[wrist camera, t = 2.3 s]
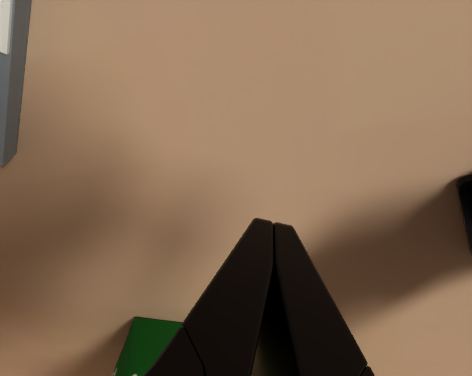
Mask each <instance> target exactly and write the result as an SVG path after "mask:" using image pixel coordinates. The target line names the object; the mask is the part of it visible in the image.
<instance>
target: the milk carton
mask: <svg viewBox="0 0 472 376" xmlns="http://www.w3.org/2000/svg"><path fill="white" fill-rule="evenodd" d="M181 325H182V323H180V322H172V321H163V320H155V319H147V318H139V317H135V318H134V321H133V323H132V326H131V329H130V331H129V334H128V336H127V339H126V341H125V344H124V346H123V349H122V351H121V354H120V356H119V359H118V361H117V364H116V367H115V369H114V372H113V374H112V376H143V375H144V374H145V373H146V372H147V371H148V369H149V368H150V367H151V366H152V365H153V363H154V362H155V361H156V359H157V358H158V357H159V355H160V354H161V353H162V351H163V350H164V348H165V347H166V346H167V344H168V343H169V342H170V340H171V339H172V337H173V336H174V334H175V333H176V331H177V330H178V329H179V327H181Z"/></svg>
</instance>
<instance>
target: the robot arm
mask: <svg viewBox="0 0 472 376" xmlns="http://www.w3.org/2000/svg"><path fill="white" fill-rule="evenodd" d="M466 185H470V186H469V187H465V186H466ZM464 187H465V188H464ZM456 188H457V192H458V197H459V202H460V206H461V211H462V216H463V220H464V225H465V230H466V234H467V239H468V244H469V249H470V253H471V255H472V175H470V176H466V177H463V178H461V179H460V180H459V181H458V182H457V184H456ZM366 366H367V361H366V359H365V357H364V356H363V354H362V352H361V350H360V348H359V346H358V345H357V343H356V341H355V339H354V337H353V335H352V334H351V332H350V330H349V328H348V326H347V324H346V323H345V321H344V319H343V317H342V315H341V313H340V312H339V310H338V308H337V306H336V304H335V302H334V301H333V299H332V297H331V295H330V293H329V292H328V290H327V288H326V286H325V284H324V282H323V281H322V279H321V277H320V275H319V273H318V271H317V270H316V268H315V266H314V264H313V262H312V260H311V259H310V257H309V255H308V253H307V251H306V249H305V248H304V246H303V244H302V242H301V240H300V238H299V237H298V235H297V233H296V231H295V229H294V228H293V227H292V226H291V225H287V224H282V223H278V222H276V223H274V224H273V223H272V222H271V221H269V220H264V219H260V218H255V219H253V221H252V222H251V223H250V225H249V226H248V228H247V229H246V231H245V232H244V234H243V235H242V237H241V238H240V240H239V241H238V243H237V244H236V245H235V247H234V248H233V250H232V251H231V253H230V254H229V256H228V257H227V259H226V260H225V262H224V263H223V265H222V266H221V267H220V269H219V270H218V272H217V273H216V275H215V276H214V278H213V279H212V281H211V282H210V284H209V285H208V286H207V288H206V289H205V291H204V292H203V294H202V295H201V297H200V298H199V300H198V301H197V303H196V304H195V306H194V307H193V308H192V310H191V311H190V313H189V314H188V316H187V317H186V319H185V320H184V322H183V323H182V325H181V327H179V329H178V330H177V331H176V333H175V334H174V336H173V337H172V339H171V340H170V342H169V343H168V344H167V346H166V347H165V348H164V350H163V351H162V353H161V354H160V355H159V357H158V358H157V359H156V361H155V362H154V363H153V365H152V366H151V367H150V368H149V369H148V371H147V372H146V373H145V374H144V375H143V376H251V374H252V376H375V375H374V373H373V372H372V370H371V368H370V367H369V366H367V367H366Z"/></svg>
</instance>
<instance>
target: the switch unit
mask: <svg viewBox="0 0 472 376" xmlns="http://www.w3.org/2000/svg"><path fill="white" fill-rule="evenodd" d="M31 1H32V0H0V166H1V167H3V166H4V165H5V164H6V163H7V162H8V161H9V160H10V159H11V158H12V157H13V156H14V155H15V154H16V151H17V141H18V131H19V121H20V111H21V101H22V91H23V81H24V71H25V61H26V51H27V41H28V31H29V21H30V11H31Z"/></svg>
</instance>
